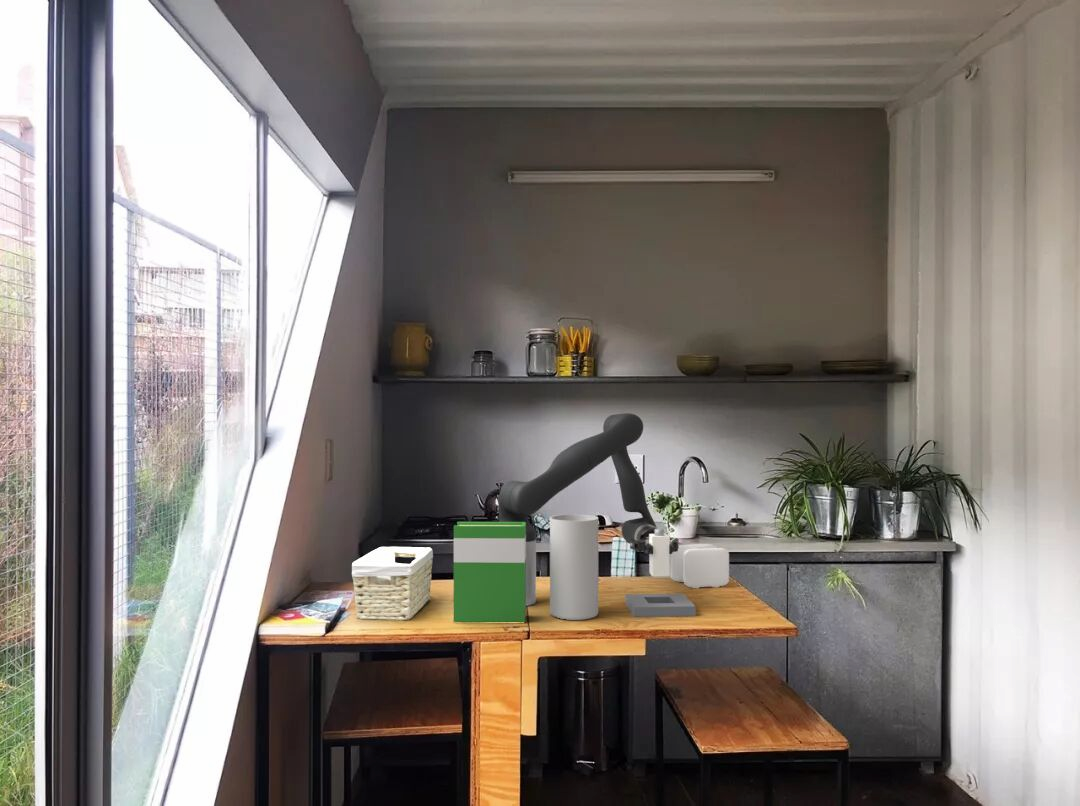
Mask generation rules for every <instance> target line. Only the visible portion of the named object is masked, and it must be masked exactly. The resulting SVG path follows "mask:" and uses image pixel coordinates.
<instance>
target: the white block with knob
mask: <svg viewBox="0 0 1080 806" xmlns="http://www.w3.org/2000/svg"><path fill="white" fill-rule="evenodd" d="M669 541H670V535H668V534H667V533H665V531H664V528H657V529H655V534H649V543H650V544H651V545H652V546H653V554H650V553H649V555H648V557H649V558H648V561H649V564H648V566H649V567H648V568H649V574H650V576H651V577H652V578H654V577H655V578H659V577H660V578H663V577H664V578H665V577H666V578H668V577H669V578H671V577H670V554H669Z"/></svg>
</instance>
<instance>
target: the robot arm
mask: <svg viewBox="0 0 1080 806" xmlns="http://www.w3.org/2000/svg"><path fill="white" fill-rule="evenodd" d="M602 427H603V428H602V429H603V431H602V432H600V433H597V434H595V435H593V436H590V437H587V438H584V439H582V440H579V441H577V442H575V443H573V444H571V445H570V446H568V447H566V448H565V449H564V450H562V451H560V453H558V454H557V455H556V456H555V458H554V459H553V461H552V462H551V464H550V466H549V467H548V469H547V470H546V471H544V472H543V473H542V474H540V475H538V476H537V477H535V478H533V479H531V480H529V481H520V480H519V481H518V480H510V481H507V482H505V483H504V484H503V486H502V487H501V489H500V490H499V493H498V518H499V519H498V520H499V521H498V522H526V607H529V606H531V605H534V604H536V603H537V532H536V529H535V528H534V527H533V525H531V523H530V521H529V518H528V516H531V515H534V514H535V513H536V512H538V511H539V510H540V509H542V508H543V507H544V506H545V505H546V504H547V503H548V502H549V501H550V500H551V499H553V498H554V497H555V496H556V495H558V494H559V493H560V492H561V491H563V490H564V489H566V488H568V487H569V486H570V485H572V484H574V483H575V482H576V481H579V479H581V478H583V476H585V475H587V474H588V473H590V472H591V471H593V470H594V469H595V468H596V467H598V466H599V465H600V464H602V463H604V462H605V461H606V460H607V459H609V458H610V457H611V459H612V463H613V465H614V469H615V472H616V475H617V478H618V479H617V480H618V483H619V489H620V495H621V499H622V505H623V509H624V511H625V512H627V513H638V514H640V515H641V517H638V518H633V519H628V520H626V521H624V522H623V523H622V526H621V535H622V538H623V540H624V541H625V542H626V543H628V544H629V548H630V549H631V550H633V551H635V552H638V553H642V552H643V553H644V554H646V555H648V556H649V553H650V554H653V546H652V545H651V544H650V543H649V534H655V529H658V528H657V525H656V522H655V520H654V518H653V517H652V514H651V512H650V510H649V507H648V503H647V499H646V494H645V488H644V484H643V481H642V477H641V475H640V474H639V472H638V471H637V469H636V467H635V465H634V464H633V462H632V460H631V458H630V455H629V451H628V446H630V445H632V444H634V443H636V442H637V441H638V440H640V438H641V437H642V434H643V431H644V422H643V420H642V418H641V417H640V416H638V415H637V414H635V413H630V412H627V413H626V412H625V413H617V414H610V415H609V416H607V417H606V418H605V420H604V422H603V425H602ZM679 541H680V540H679V539H678V538H673V539H671V541H670V540H669V554H672V552H676V551H678V548H679V545H680V544H679V543H680V542H679Z"/></svg>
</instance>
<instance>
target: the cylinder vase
mask: <svg viewBox="0 0 1080 806" xmlns="http://www.w3.org/2000/svg"><path fill="white" fill-rule="evenodd" d="M549 612H550V614H551V615H552V617H554V618H556V617H557V619H559V618H560V619H561V620H564V619H566V621H584V620H585V621H586V620H590V619H592V618H593V619H594V618H595V617H597V615H599V517H598V516H597V515H596V516H595V515H588V514H556V515H552V516H550V517H549Z"/></svg>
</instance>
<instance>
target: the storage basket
mask: <svg viewBox="0 0 1080 806" xmlns="http://www.w3.org/2000/svg"><path fill="white" fill-rule="evenodd" d="M399 557H400V558H415V559H414V560H412V561H411V563H399V562H396V558H399ZM433 558H434V554H433V549H432V548H431V547H417V546H416V547H415V546H414V547H412V546H380V547H378V548H376V549H374V550H372V551H370V552H368V553H366V554H365V555H363V556H362V557H359V558H358V559H357V560H355V561H353V562H352V564H351V577H352V581H353V583H352V584H353V591H354V593H353V594H354V602H355V608H356V609H355V610H356V618H357V619H359V620H380V621H381V620H383V621H384V620H385V621H386V620H387V621H395V620H396V621H405V620H406V621H409V620H411V619H412V618H414V616H415V615H416V614H417V613H418V612H419V610H421V609H422V607H424V606H425V605H426V603H427V602H429V600H430V598H432V596H431V585H432V582H431V581H432V568H433Z"/></svg>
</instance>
